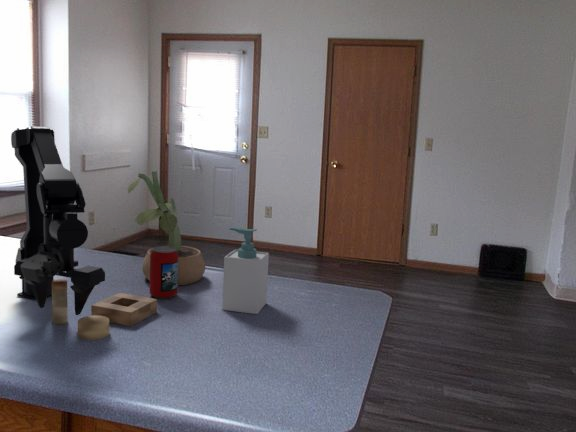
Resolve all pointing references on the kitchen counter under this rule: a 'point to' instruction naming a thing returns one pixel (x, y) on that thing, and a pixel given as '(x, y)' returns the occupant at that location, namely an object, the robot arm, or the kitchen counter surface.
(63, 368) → the kitchen counter surface
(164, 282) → the beverage can
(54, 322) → the wooden dowel
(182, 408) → the kitchen counter surface
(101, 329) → the tan rounded disc
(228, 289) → the soap bottle
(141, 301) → the square wooden frame
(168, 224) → the potted plant
